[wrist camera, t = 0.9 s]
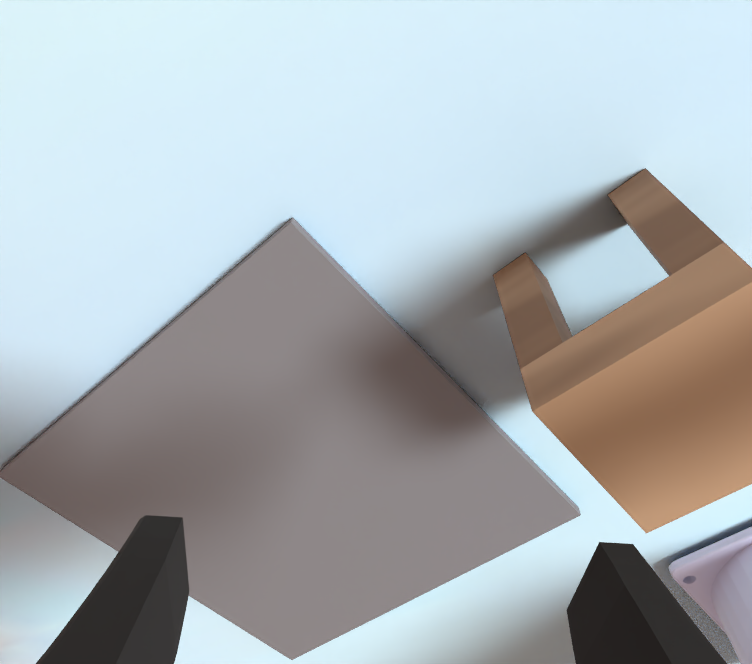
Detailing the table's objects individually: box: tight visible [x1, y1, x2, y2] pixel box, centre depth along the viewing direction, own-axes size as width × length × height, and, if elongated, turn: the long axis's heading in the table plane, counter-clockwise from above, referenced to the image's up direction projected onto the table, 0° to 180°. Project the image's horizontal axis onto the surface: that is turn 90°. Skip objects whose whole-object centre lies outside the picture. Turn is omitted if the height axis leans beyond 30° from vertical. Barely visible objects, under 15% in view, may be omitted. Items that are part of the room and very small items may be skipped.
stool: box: [493, 168, 752, 533], centre depth 17 cm, size 5×5×7 cm
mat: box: [0, 218, 581, 660], centre depth 25 cm, size 16×16×1 cm
